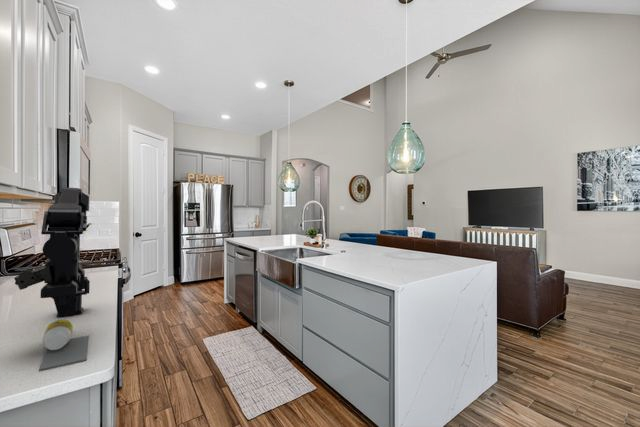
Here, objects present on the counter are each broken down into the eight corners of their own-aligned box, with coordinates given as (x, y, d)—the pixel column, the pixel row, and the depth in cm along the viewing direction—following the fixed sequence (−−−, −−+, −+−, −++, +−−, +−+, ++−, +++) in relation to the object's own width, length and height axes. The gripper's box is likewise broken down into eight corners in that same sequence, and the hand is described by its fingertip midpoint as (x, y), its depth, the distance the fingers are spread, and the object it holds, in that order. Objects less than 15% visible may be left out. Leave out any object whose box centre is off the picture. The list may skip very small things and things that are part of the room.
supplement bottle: (42, 338, 75) (35, 352, 67) (51, 317, 76) (46, 329, 68) (67, 340, 78) (64, 353, 70) (76, 320, 79) (74, 331, 71)
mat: (49, 344, 74) (49, 342, 74) (88, 336, 79) (88, 335, 79) (38, 371, 62) (38, 369, 62) (86, 360, 67) (86, 358, 67)
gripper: (26, 253, 76) (24, 312, 76) (9, 263, 61) (6, 336, 61) (81, 251, 83) (79, 305, 83) (77, 259, 68) (75, 325, 68)
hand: (61, 316), depth 73 cm, fingers closed
